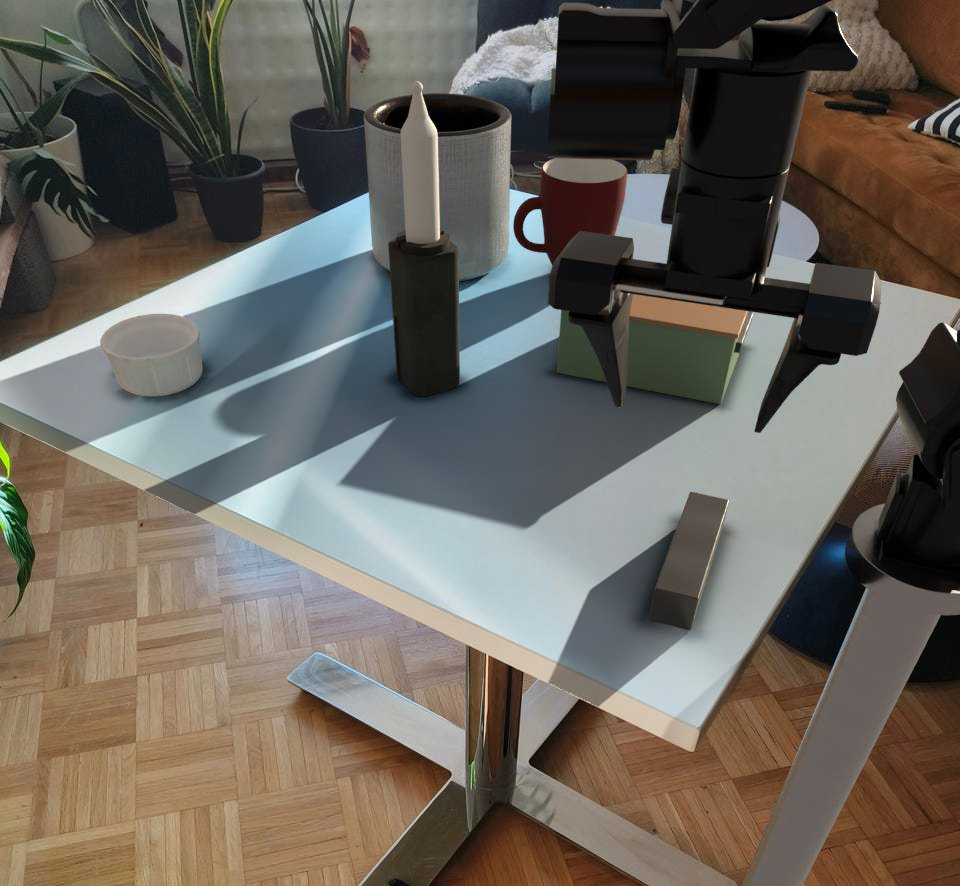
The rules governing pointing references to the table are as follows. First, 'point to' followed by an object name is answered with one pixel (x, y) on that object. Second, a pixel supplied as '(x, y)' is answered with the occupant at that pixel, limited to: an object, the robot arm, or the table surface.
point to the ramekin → (154, 353)
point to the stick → (688, 561)
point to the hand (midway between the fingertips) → (687, 416)
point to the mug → (574, 202)
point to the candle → (424, 267)
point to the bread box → (667, 348)
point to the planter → (446, 176)
